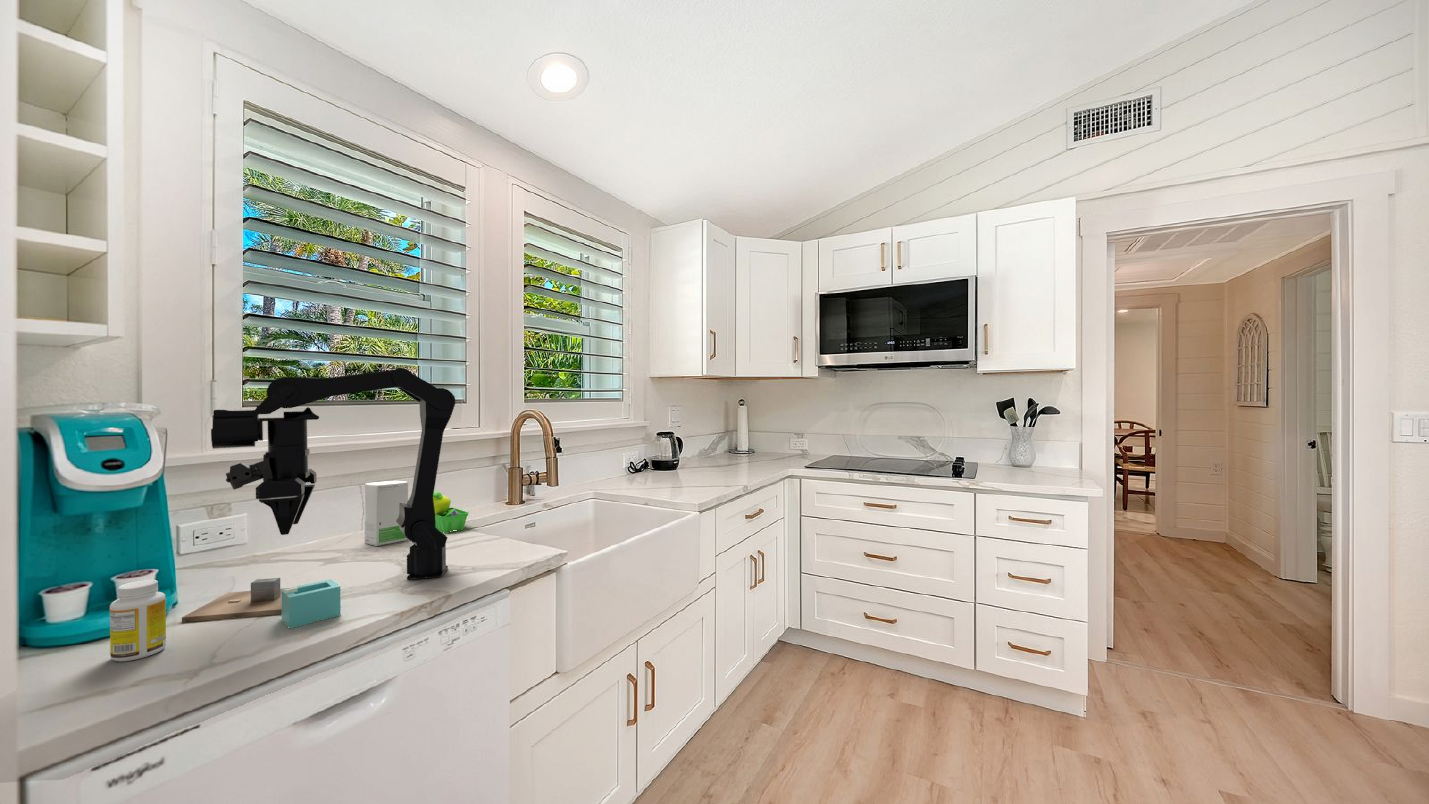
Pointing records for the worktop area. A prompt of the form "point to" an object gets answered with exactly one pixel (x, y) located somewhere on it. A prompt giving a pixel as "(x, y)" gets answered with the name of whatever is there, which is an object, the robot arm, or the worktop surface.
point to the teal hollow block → (310, 603)
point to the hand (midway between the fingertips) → (289, 529)
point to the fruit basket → (447, 514)
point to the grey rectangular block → (265, 590)
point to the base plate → (235, 607)
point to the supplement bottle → (137, 621)
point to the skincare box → (384, 511)
